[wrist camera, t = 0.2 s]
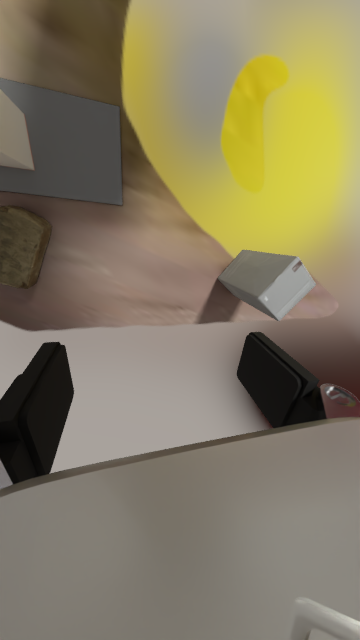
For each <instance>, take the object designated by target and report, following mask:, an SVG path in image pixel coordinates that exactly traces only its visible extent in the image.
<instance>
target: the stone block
mask: <svg viewBox="0 0 360 640" xmlns="http://www.w3.org/2000/svg"><path fill="white" fill-rule="evenodd" d="M51 228H52V226H51V225H50V224H49V223H48V222H47V221H46V220H45V219H43V218H41V217H39V216H37V215H36V214H34V213H32V212H29V211H27V210H25V209H23V208H21V207H18V206H11V205H8V206H2V207H0V283H1V284H4V285H9V286H12V287H16V288H20V287H21V288H25V289H28V288H29V287H31V286H33V285H34V284H36V282H37V279H38V275H39V271H40V268H41V264H42V261H43V256H44V253H45V250H46V246H47V244H48V242H49V239H50V235H51Z"/></svg>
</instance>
